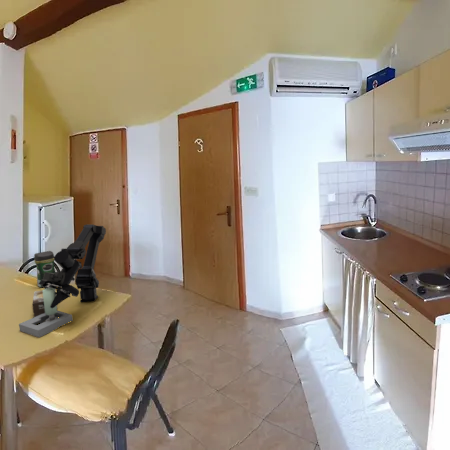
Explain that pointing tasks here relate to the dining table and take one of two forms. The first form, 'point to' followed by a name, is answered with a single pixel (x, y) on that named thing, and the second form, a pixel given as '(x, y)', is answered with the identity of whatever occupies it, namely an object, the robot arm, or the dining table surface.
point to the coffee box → (38, 303)
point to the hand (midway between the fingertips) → (47, 306)
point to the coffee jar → (44, 264)
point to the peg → (49, 303)
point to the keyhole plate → (44, 324)
